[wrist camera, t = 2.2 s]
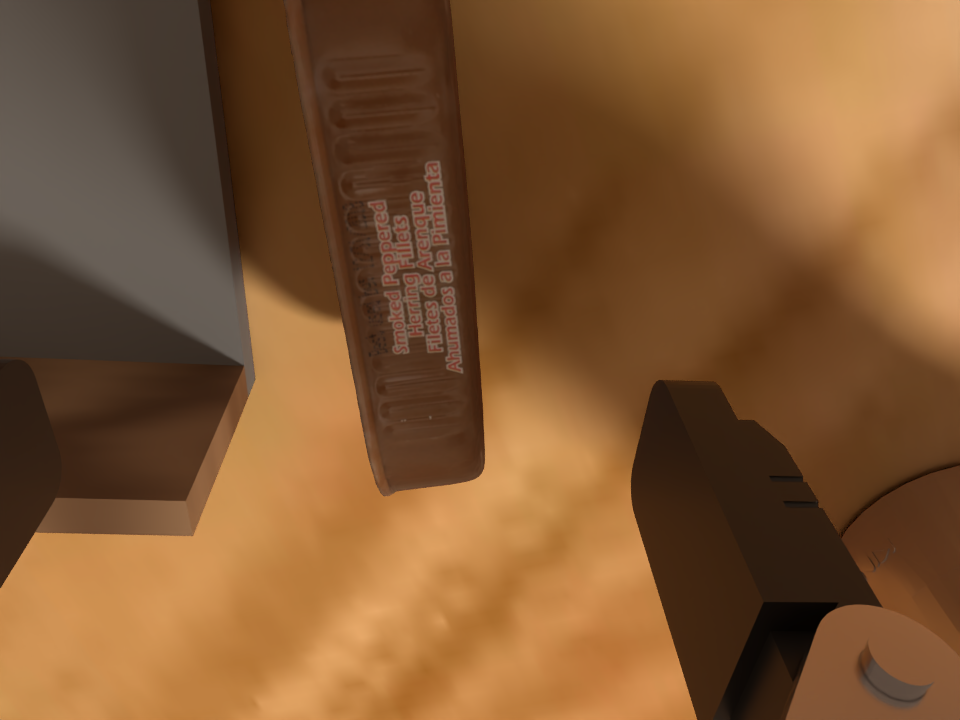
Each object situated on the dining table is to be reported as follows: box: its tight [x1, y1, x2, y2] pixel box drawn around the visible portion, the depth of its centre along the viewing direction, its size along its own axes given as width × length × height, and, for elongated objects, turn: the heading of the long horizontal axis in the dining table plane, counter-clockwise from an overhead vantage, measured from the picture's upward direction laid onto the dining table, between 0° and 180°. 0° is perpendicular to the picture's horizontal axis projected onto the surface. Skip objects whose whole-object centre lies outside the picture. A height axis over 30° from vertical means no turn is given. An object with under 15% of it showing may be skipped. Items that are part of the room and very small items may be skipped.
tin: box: [284, 0, 485, 496], centre depth 17 cm, size 15×3×8 cm, turn 3°
